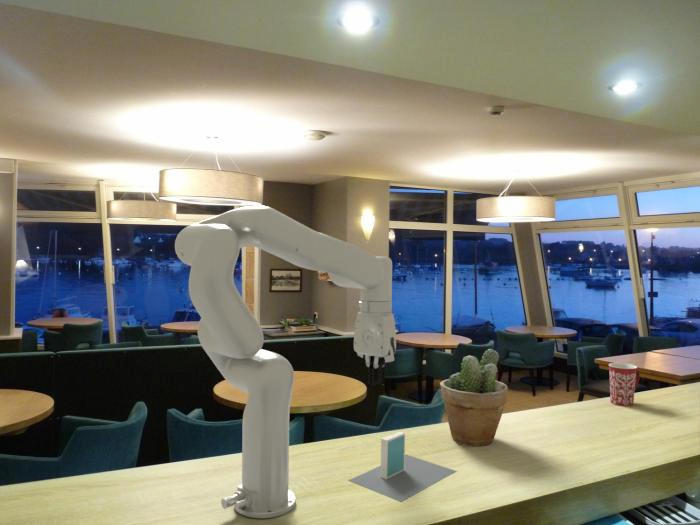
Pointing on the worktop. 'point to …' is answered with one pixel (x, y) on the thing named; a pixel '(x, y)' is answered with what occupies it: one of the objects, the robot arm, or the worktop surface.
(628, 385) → the mug
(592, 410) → the worktop surface
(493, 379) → the potted plant
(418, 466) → the mat
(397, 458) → the tile
